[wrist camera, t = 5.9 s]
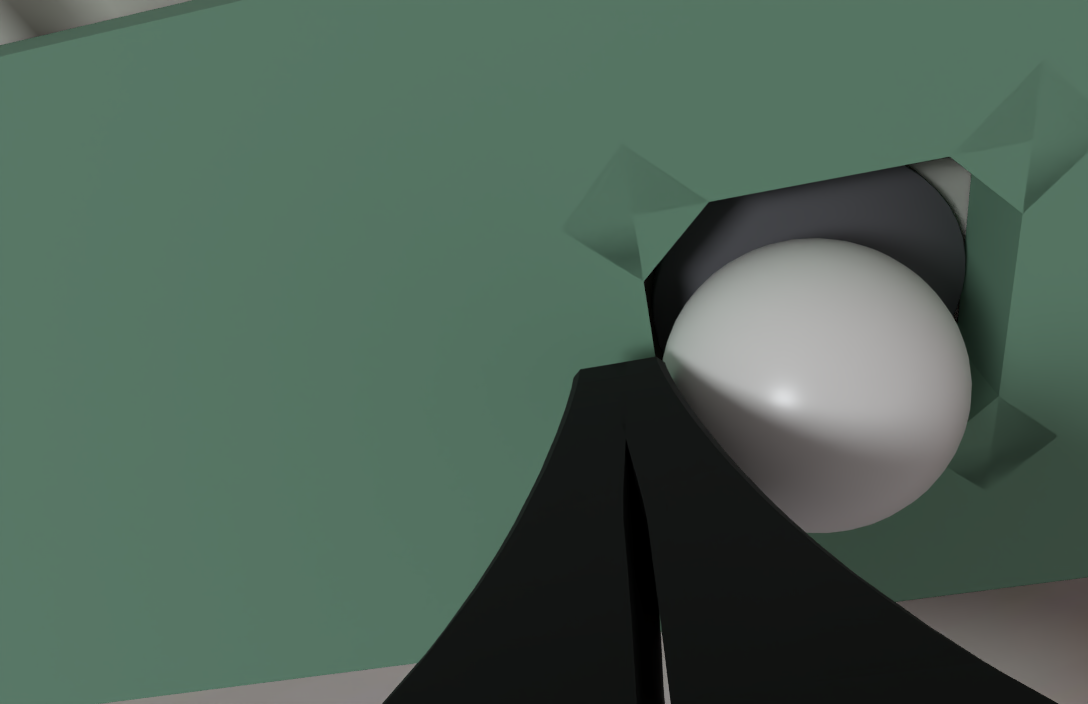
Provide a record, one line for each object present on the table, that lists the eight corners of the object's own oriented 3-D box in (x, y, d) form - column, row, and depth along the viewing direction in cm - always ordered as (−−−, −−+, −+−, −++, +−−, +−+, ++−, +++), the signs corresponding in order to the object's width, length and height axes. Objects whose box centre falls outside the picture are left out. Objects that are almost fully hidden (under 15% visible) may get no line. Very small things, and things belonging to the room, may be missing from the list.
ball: (665, 492, 13) (831, 343, 14) (852, 649, 10) (1055, 446, 11) (563, 323, 11) (767, 155, 12) (763, 457, 8) (1028, 215, 9)
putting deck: (1099, 508, 15) (1149, 569, 14) (-135, 678, 18) (-185, 740, 17) (1283, -255, 9) (1404, -270, 8) (-659, 199, 12) (-799, 241, 11)
